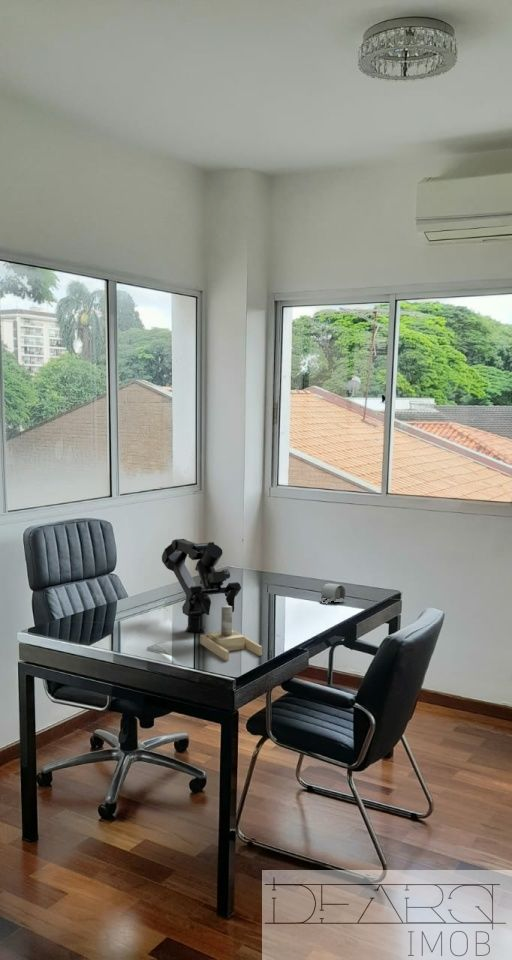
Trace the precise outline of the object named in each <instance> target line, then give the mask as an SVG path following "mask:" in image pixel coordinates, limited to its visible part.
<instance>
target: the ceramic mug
mask: <svg viewBox="0 0 512 960" xmlns="http://www.w3.org/2000/svg"><path fill="white" fill-rule="evenodd" d="M346 591H347V590H346V588H345V586H344V585H343V584H336V583H326V584H323V586H322V587H321V596H320V597H319V601H320V600H321V599H322V598H326V599H329V600H324V601H325V602H330V603H332V602H331V601H336V599H340V598H343V599H344V600H345V599H346ZM321 601H323V599H322V600H321Z"/></svg>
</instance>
